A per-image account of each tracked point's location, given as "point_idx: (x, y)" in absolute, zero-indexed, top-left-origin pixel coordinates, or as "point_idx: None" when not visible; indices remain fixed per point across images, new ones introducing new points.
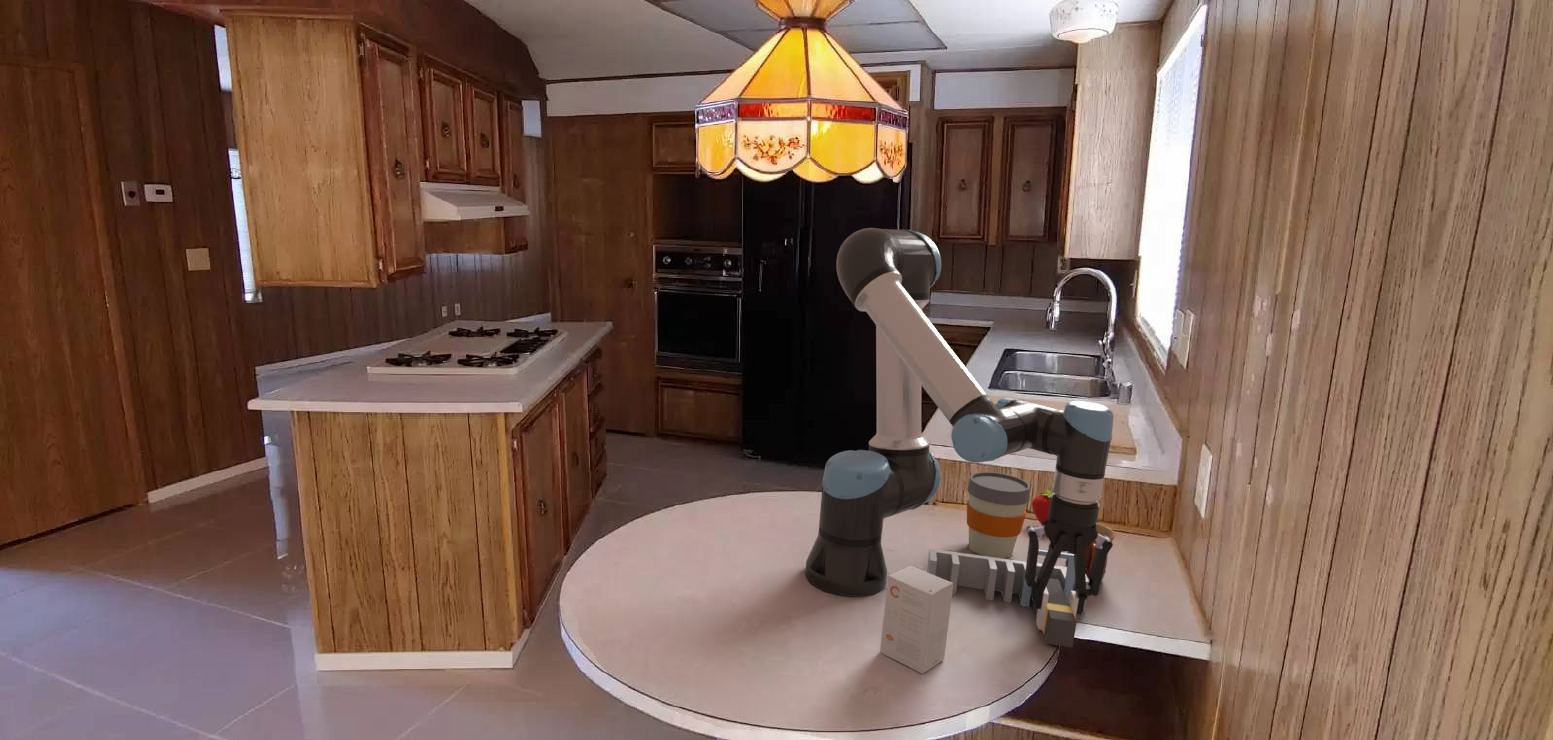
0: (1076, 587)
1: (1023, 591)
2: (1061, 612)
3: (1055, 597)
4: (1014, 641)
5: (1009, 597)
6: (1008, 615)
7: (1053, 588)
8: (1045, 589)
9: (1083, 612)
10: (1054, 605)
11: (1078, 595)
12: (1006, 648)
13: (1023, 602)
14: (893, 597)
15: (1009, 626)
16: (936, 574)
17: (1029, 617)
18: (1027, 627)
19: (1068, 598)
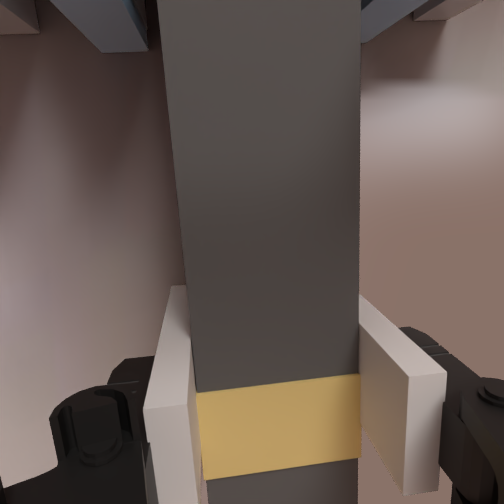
0: (473, 438)
1: (77, 24)
2: (287, 472)
3: (279, 270)
4: None
5: (12, 24)
6: (38, 204)
7: (286, 99)
8: (176, 456)
9: (443, 18)
10: (254, 408)
11: (449, 470)
12: None
13: (109, 46)
14: None
15: (50, 317)
16: None
17: (149, 184)
18: (137, 293)
19: (388, 15)
